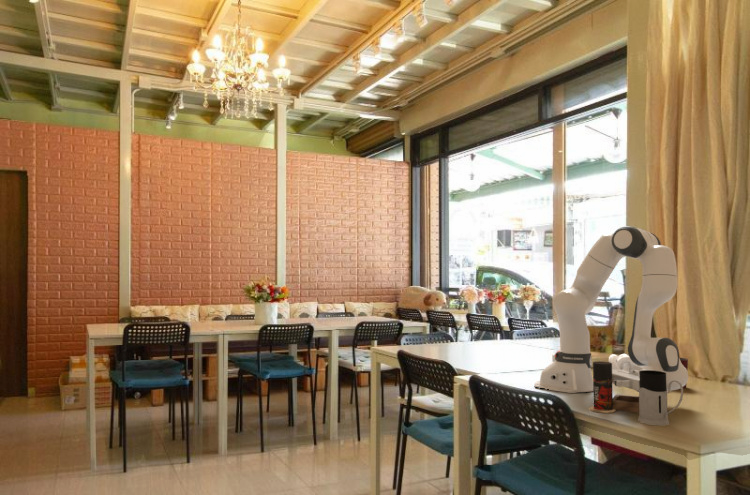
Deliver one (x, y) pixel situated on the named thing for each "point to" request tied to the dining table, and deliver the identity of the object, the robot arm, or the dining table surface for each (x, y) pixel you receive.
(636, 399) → the holder frame
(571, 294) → the robot arm
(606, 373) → the deodorant
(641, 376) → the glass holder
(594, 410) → the cork coaster
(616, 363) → the white lumpy blob
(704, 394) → the dining table surface
